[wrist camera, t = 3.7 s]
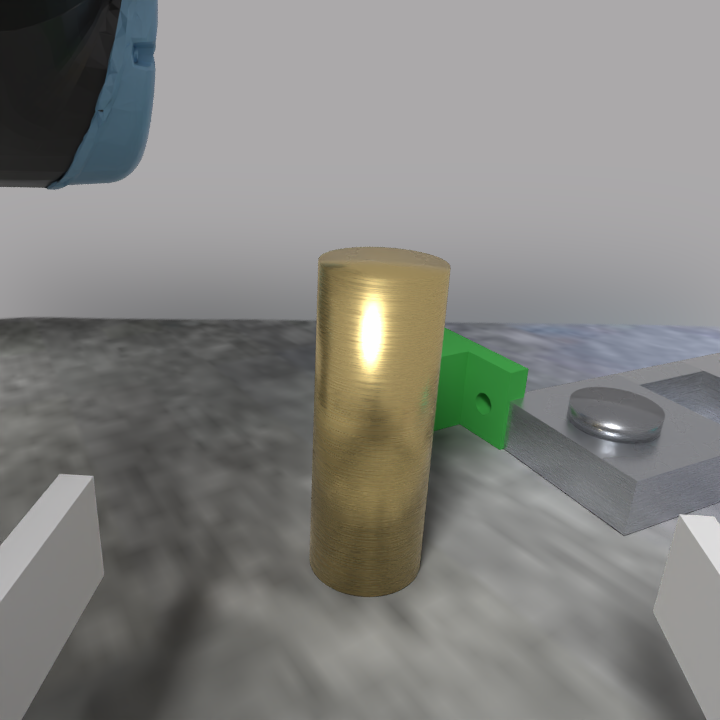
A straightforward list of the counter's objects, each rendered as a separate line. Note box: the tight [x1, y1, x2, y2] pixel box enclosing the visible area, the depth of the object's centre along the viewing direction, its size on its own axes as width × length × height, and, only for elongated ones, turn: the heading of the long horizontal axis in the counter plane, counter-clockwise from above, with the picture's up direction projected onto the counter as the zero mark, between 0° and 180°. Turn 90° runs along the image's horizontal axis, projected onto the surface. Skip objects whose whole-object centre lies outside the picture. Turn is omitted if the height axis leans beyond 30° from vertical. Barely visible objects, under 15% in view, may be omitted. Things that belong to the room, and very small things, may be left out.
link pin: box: [310, 247, 450, 597], centre depth 23 cm, size 4×4×11 cm
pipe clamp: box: [434, 328, 528, 450], centre depth 36 cm, size 11×4×5 cm, turn 32°
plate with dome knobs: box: [503, 353, 720, 535], centre depth 34 cm, size 8×20×3 cm, turn 118°
